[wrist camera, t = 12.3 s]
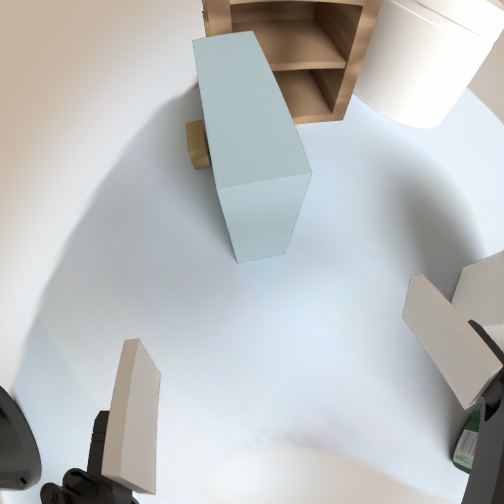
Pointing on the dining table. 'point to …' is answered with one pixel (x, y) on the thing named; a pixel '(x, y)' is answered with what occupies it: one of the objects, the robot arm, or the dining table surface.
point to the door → (250, 145)
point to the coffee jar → (467, 444)
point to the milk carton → (483, 295)
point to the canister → (425, 56)
